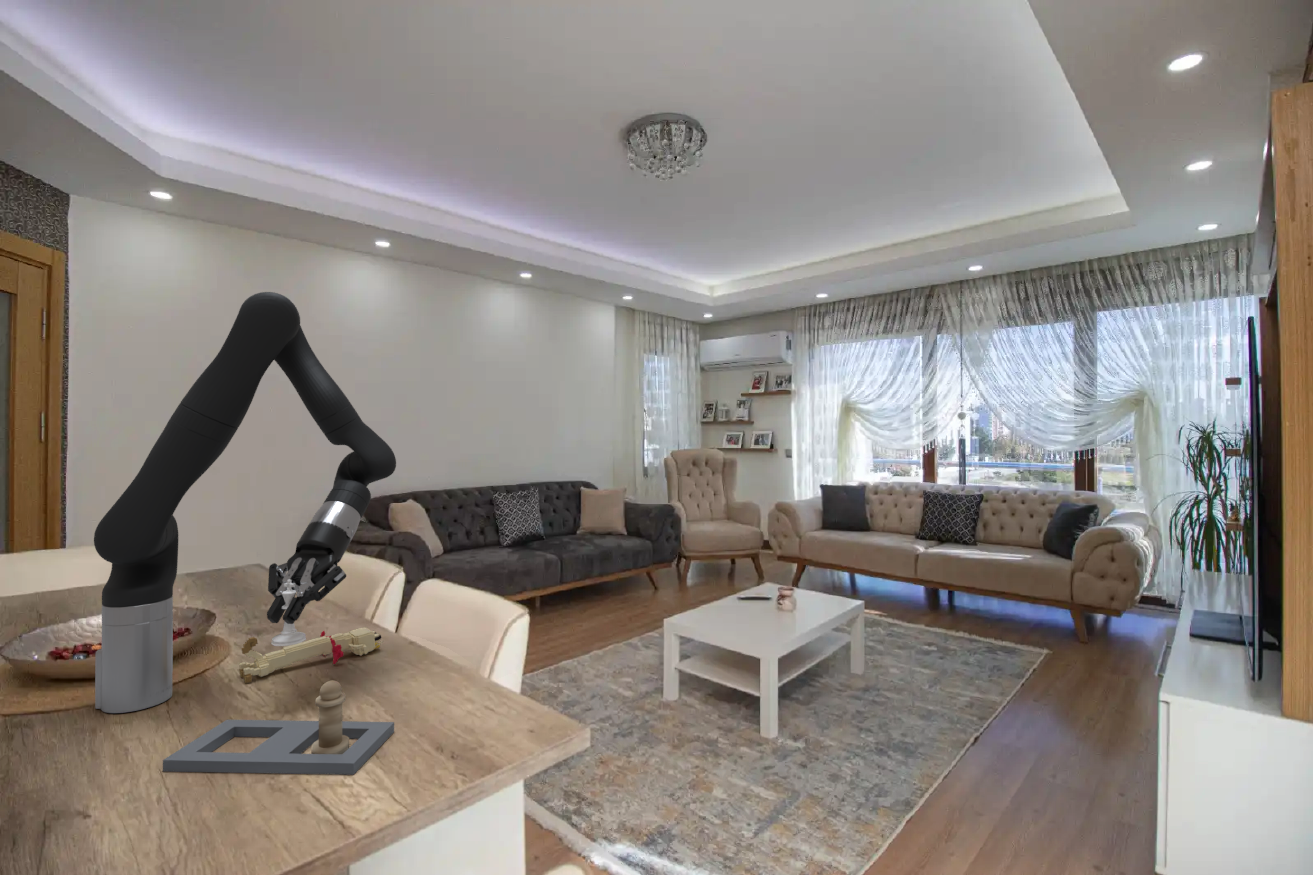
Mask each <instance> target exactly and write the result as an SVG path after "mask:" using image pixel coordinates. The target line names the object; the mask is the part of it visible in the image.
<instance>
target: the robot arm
mask: <svg viewBox="0 0 1313 875" xmlns="http://www.w3.org/2000/svg"><path fill="white" fill-rule="evenodd" d="M274 361H275V363H276V364H277V365H278V367H279V368H280V369H281V370H282V372H284V374H285V376H286V377H287V378H288V381H290V384H292V386H293V387H294V389H295V391H296V393H297V394H298V396H299V398H300V400H301V401H302V403H303V405H304V406H305V408H306V409H307V411H308V413H309V414H310V416H311V417H312V419H313V420H314V422H315V423H316V425H317V426H318V428H319V429H320V431H321V432H322V433H323V435H324V436H325V437H326V439H327V440H328V441H329V442H330V443H331V444H332V445H333V446H334V445H335V446H347V447H348V448H349V449H351V450H352V452H349V453H348V454H346V455H345V457H344V458H343V459H342V460H341V462H340V464H338V467H337V470H336V474H335V477H334V480H333V486H332V488H331V490H330V491H329V493H328V494H327V495H326V496H327V497H326V498H325V499H324V501H323V503H322V505H321V506H320V507H319V509H318V510H317V511H316V512H315V513H314V515H313V516H312V519H311V520H310V521H309V524H308V525H307V527H306V528H305V530H304V531H303V532H302V535H301V536H300V538H299V539H298V541H297V543H296V545H295V546H296V547H295V552H294V553H293V555H292V556H290V557H289V558H288V559H287V560H286V561H287V562H284V563H281V564H279V565H278V564H277V563H275V562H274V563H272V564H270V565H269V567H268V583H267V584H268V585H267V591H268V592H269V594H271V595H272V596H273V598H274V600H273V602H272V603H271V605H270V607H269V609H268V610H267V612H266V618H267V620H269V621H270V623H272V624H278V623H279V622H280V620H281V618H282V620H283V621H285V622H286V623H287V624H293V623H294V624H295V622H296V621H298V619H299V618H300V617H301V614H302V612H303V611H304V609H305V608H306V605H308V604H310V603H311V602H312V601H316V602H320V601H322V600H323V598H325V597H326V596H327V595H328V594H330V592H332V590H333V589H335V588H336V587H337V586H338V585H340V583H342V582H343V581H344V580H345V579H346V577H347V574H346V572H345V571H344V570H343V568H341V566H340V565H338V564H339V563H340V562H341V560H342V559H343V556H344V555H345V553H346V551H347V549H348V547H349V546H350V543H351V541H352V540H353V538H354V536H355V534H356V532H357V530H358V528H359V524H360V522H361V520H362V518H363V516H364V514H365V513H366V511H367V508H368V506H369V505H370V502H371V500H372V496H371V495H372V494H371V492H370V489H369V488H368V486H369V484H371V483H372V484H373V483H375V482H378V481H381V480H383V479H386V478H388V477H390V476H392V474H393V475H394V473H395V471H396V467H397V458H396V455H395V453H394V451H393V449H392V448H391V446H390V445H389V444H388V443H387V442H386V441H385V440H384V439H383V438H382V437H381V436H379V434H377V433H376V432H375V431H374V430H373V428H371V427H369V426H368V424H366V423H365V422H364V421H363V419H361V417H360V415H359V413H358V412H357V410H356V408H354V405H352V403H351V401H350V400H349V399H348V397H347V396H346V394H345V393H344V391H343V390H342V389H341V387H340V386H339V385H338V384H337V383H336V381H335V380H334V379H333V377H332V376H331V375H330V373H329V372H328V371H327V370H326V369H325V367H324V366H323V364H322V363H321V362H320V360H319V359H318V357H317V355H316V354H315V352H314V351H313V349H312V347H311V346H310V343H309V341H308V339H307V337H306V335H305V332H304V330H303V328H302V325H301V315H300V312H299V310H298V309H297V307H296V304H294V303H293V302H292V301H291V300H290V299H289V298H288V297H287V296H285V295H283V294H281V293H278V292H275V291H274V292H273V291H264V292H263V291H262V292H258V293H254V294H252V295H250V296H249V297H248V298H246V299H245V300H244V302H242V304H241V306H240V308H239V310H238V312H237V316H236V318H235V320H234V323H232V327H231V329H230V331H229V333H228V335H227V336H226V338H225V341H224V342H223V344H222V346H221V348H220V349H219V351H218V352H217V354H216V356H215V357H214V358H213V360H212V361H211V362H210V364H208V365H207V367H206V368H205V369H204V370H203V371H202V373H201V374H200V375H199V377H198V378H197V379H196V381H195V382H194V383H193V384H192V386H191V387H190V388H189V389H188V391H187V393H186V394H185V395H184V396H183V398H182V399H181V401H180V403H178V405H177V407H176V408H175V410H174V411H173V414H172V415H171V416H170V418H169V419H168V421H167V423H166V425H165V426H164V428H163V430H162V432H161V433H160V435H159V437H158V438H157V440H156V442H154V445H153V446H152V448H151V450H150V452H149V453H148V455H147V457H146V459H145V460H144V463H143V465H142V466H141V467H140V468H139V472H138V473H137V474H136V476H135V477H134V478H133V480H132V481H131V483H130V484H129V485H128V487H127V488H126V489H125V490H124V492H123V493H122V494H121V495H120V496H119V497H118V499H117V500H116V501H115V502H114V504H113V505H112V506H111V507H110V509H109V510H108V511H107V513H105V515H104V516H103V517H102V519H101V520H100V521H99V522H98V524H97V526H96V528H95V531H94V534H93V545H94V548H95V551H96V552H97V554H98V556H99V557H101V559H102V560H105V561H106V562H109V563H110V564H111V571H110V574H109V577H108V580H107V581H106V583H105V585H104V586H103V588H102V591H101V648H100V649H98V650H97V651H95V658H94V659H95V666H94V667H95V669H94V671H95V673H94V678H95V680H94V681H95V685H94V690H95V691H94V694H95V695H94V696H95V700H94V701H95V702H94V705H95V706H94V708H95V709H99V710H101V711H102V712H103V713H108V714H123V713H130V712H135V711H136V712H137V711H140V710H145V709H147V708H152V707H155V706H157V705H160V704H161V703H164V702H166V701H168V700H169V699H171V698H172V696H173V667H174V666H173V663H174V662H173V658H174V657H173V655H174V654H173V649H174V648H173V646H174V645H173V641H174V637H173V630H174V627H173V626H174V623H173V621H174V618H173V616H174V610H173V609H174V603H173V602H174V601H173V600H174V596H173V595H174V585H175V581H176V578H177V574H178V564H179V563H178V560H179V559H178V558H179V527H178V523H177V520H176V517H175V516H174V513H175V511H176V509H177V508H178V506H179V504H180V502H181V501H182V499H183V497H184V496H185V495H186V493H187V492H188V491H189V490H190V488H191V487H192V486H193V485H194V484H195V483H196V482H197V481H198V480H199V479H200V478H201V477H202V476H203V475H204V474H205V473H206V472H207V470H208V469H210V467H212V465H213V464H214V463H215V462H216V461H217V460H218V458H219V457H220V456H221V455H222V454H223V452H225V449H227V447H228V446H229V444H230V442H231V440H232V439H233V437H234V436H235V434H236V433H237V431H238V429H239V428H240V426H241V424H242V423H243V421H244V418H245V416H246V415H247V413H248V410H249V408H250V406H251V404H252V403H253V399H254V397H255V395H256V393H257V390H258V387H259V385H260V382H261V380H262V378H263V376H264V375H265V374H266V371H267V370H268V368H270V366H271V364H272V363H273V362H274ZM287 580H292V584H295V587H291V590H295V591H296V595H295V597H293V599H292V601H291V603H290V604H289V606H288V608H287V610H286V609H282V606H283V605H285V604H286V603H285V601H284V598H283V595H282V592H284V591H286V590H287V587H284V584H285V583H287Z"/></svg>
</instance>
